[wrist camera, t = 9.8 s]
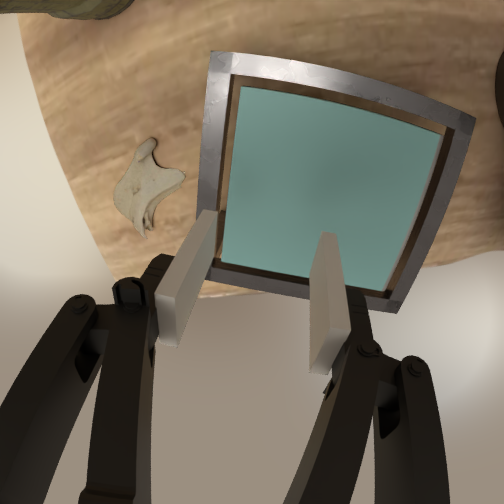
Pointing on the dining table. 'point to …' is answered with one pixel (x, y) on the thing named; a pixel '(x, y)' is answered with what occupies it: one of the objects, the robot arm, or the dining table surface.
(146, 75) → the dining table surface
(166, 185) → the fossil
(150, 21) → the dining table surface
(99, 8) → the thermos
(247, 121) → the trapdoor
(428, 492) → the robot arm
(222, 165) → the frame
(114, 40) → the dining table surface
